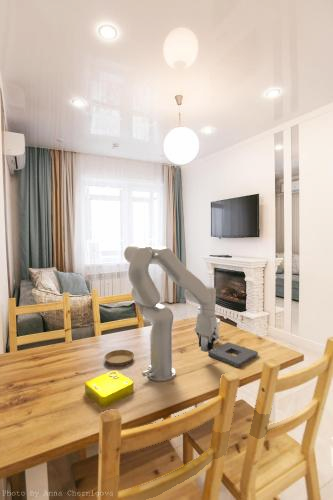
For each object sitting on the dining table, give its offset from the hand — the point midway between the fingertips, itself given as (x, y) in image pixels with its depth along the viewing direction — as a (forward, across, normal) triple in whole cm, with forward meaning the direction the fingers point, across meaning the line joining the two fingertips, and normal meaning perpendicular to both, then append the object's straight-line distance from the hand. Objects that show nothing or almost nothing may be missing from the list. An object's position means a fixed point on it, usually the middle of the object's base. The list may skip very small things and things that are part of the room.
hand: (205, 347), depth 131 cm
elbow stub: (+1, 0, 0) cm, 1 cm away
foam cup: (+6, -13, +22) cm, 26 cm away
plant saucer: (+9, -30, -30) cm, 44 cm away
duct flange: (+6, +6, +15) cm, 17 cm away
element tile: (+10, -10, -48) cm, 50 cm away
